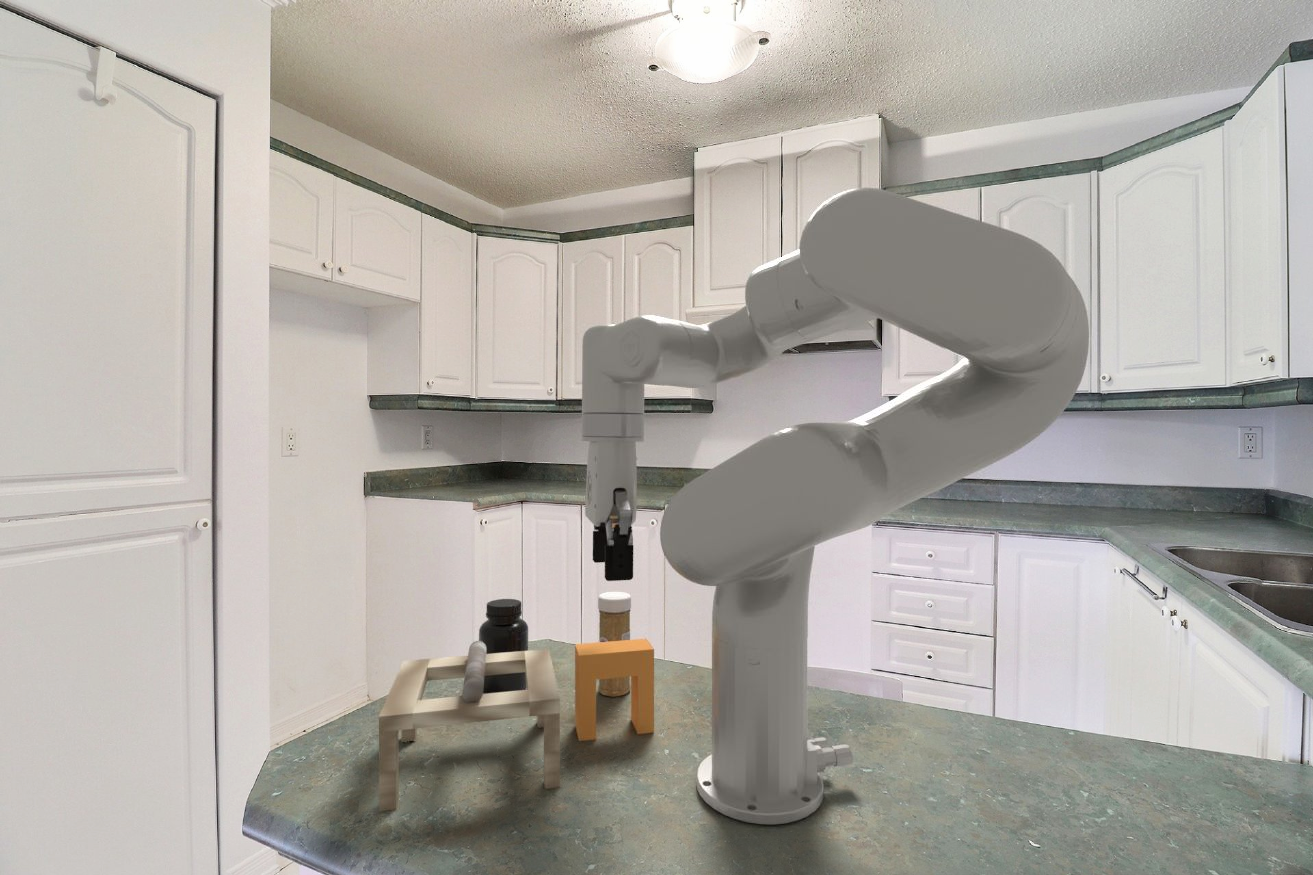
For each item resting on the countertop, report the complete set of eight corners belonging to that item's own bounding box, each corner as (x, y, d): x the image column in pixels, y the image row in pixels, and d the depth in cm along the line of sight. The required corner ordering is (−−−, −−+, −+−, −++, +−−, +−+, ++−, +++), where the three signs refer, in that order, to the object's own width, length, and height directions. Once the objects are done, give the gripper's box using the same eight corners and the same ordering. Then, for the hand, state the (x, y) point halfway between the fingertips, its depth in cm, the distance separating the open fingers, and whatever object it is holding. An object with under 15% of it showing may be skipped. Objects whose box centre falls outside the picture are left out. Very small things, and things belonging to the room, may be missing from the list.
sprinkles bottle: (591, 694, 86) (591, 596, 86) (609, 682, 90) (609, 589, 90) (620, 700, 84) (620, 600, 84) (637, 688, 88) (637, 592, 88)
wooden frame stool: (549, 721, 78) (549, 632, 78) (559, 787, 63) (559, 678, 63) (403, 736, 74) (403, 643, 74) (379, 811, 59) (378, 695, 59)
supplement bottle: (522, 698, 85) (521, 609, 85) (471, 697, 85) (471, 609, 85) (533, 678, 92) (532, 596, 92) (486, 677, 92) (486, 596, 92)
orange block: (646, 717, 79) (646, 638, 79) (654, 732, 75) (654, 649, 75) (575, 725, 77) (575, 644, 77) (579, 741, 73) (578, 655, 73)
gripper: (573, 428, 83) (572, 557, 83) (591, 429, 66) (590, 590, 67) (629, 429, 85) (628, 554, 85) (660, 430, 68) (658, 586, 68)
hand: (611, 570), depth 76 cm, fingers open, 9 cm apart
